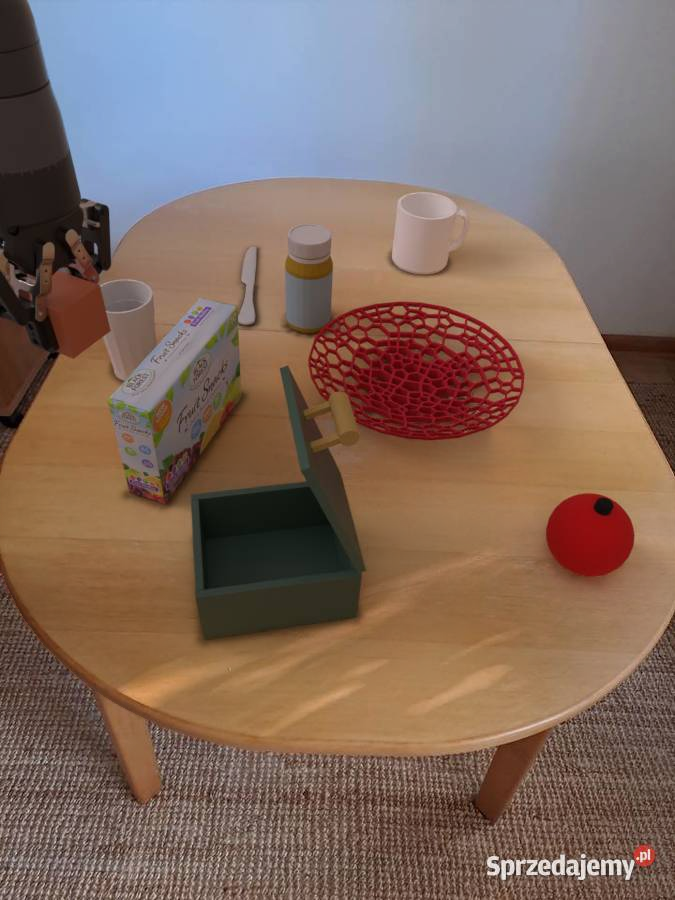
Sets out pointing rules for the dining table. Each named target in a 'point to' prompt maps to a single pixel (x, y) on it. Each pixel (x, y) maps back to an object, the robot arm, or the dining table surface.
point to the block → (76, 313)
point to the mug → (425, 232)
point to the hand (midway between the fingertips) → (70, 332)
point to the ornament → (590, 534)
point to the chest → (268, 561)
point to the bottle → (308, 278)
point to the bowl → (417, 373)
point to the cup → (128, 324)
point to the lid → (325, 458)
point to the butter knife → (248, 287)
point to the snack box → (178, 399)
